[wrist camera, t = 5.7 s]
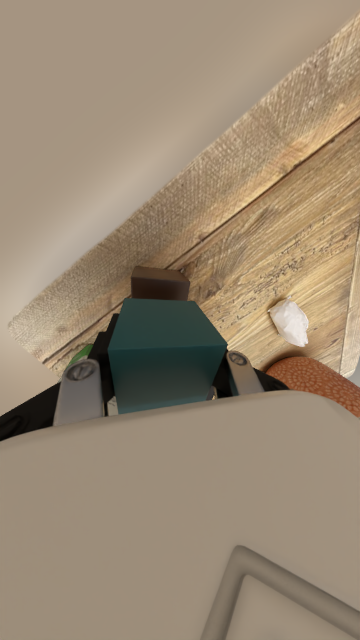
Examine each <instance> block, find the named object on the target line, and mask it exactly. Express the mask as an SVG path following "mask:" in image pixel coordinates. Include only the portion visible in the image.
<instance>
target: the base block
mask: <svg viewBox="0 0 360 640" xmlns="http://www.w3.org/2000/svg"><path fill="white" fill-rule="evenodd" d="M189 287H190V281H189V280H188V279H187V278H186V277H185V276H184V275H183V274H182V273H181V272H180V271H176V270H167V269H158V268H149V267H139V266H136V267H135V269H134V271H133V273H132V276H131V294H132V298H134V299H155V300H177V301H187V299H188V293H189Z"/></svg>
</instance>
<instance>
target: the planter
mask: <svg viewBox="0 0 360 640" xmlns="http://www.w3.org/2000/svg"><path fill="white" fill-rule="evenodd" d="M266 374H268V375H270V376H272V377H274V378H276V379H278V380H280V381H282V382H283V383H284V384H286V385H287V386H288V387H289V388H290V389H294V390H296V391H303V392H309V393H313V394H317V395H320V396H323V397H326V398H328V399H331V400H333V401H335V402H337V403H338V404H340V405H341V406H343V407H344V408H345V409H347V410H348V411H349V412H351V413H352V414H353V415H355V416H356V417H357V418H358V419H360V388H359V387H358V386H356V385H355V384H353V383H352V382H351V381H349V380H348V379H346V378H345V377H343V376H342V375H340V374H339V373H337V372H336V371H334V370H332V369H331V368H329V367H328V366H326V365H324V364H322V363H321V362H319V361H317V360H314V359H312V358H308V357H300V356H297V357H288V358H284V359H282V360H280V361H278V362H276V363H275V364H273V365H272V366H271V367H270V368H269V369H268V370H267V371H266Z"/></svg>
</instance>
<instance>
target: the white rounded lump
mask: <svg viewBox="0 0 360 640" xmlns="http://www.w3.org/2000/svg"><path fill="white" fill-rule="evenodd" d="M290 298H291V296H289V297H287V298H286V299H284V300H283V301H279V302H278V303H277V304H276V305H275V306H274V307H272V308H270V309H269V310H268V311H267V312H269V311H270V316H271V318H272V319H273V322H274V324H275V326H276V327H277V329H278V332H279V333H280V334H277V335H280V336H282V338H283V339H284V340H285V341H287V342H289V343H291V344H294V345H297V346H300V347H305V343H306V344H308V339H307V334H306V329H307V328H308V323H309V321H308V319H307V317H306V315H305V314H304V312H303V311H302V310H301V309H300V308H299V307H298V306H297V304H296V303H295V302H293V301H290V300H288V299H290Z"/></svg>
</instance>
